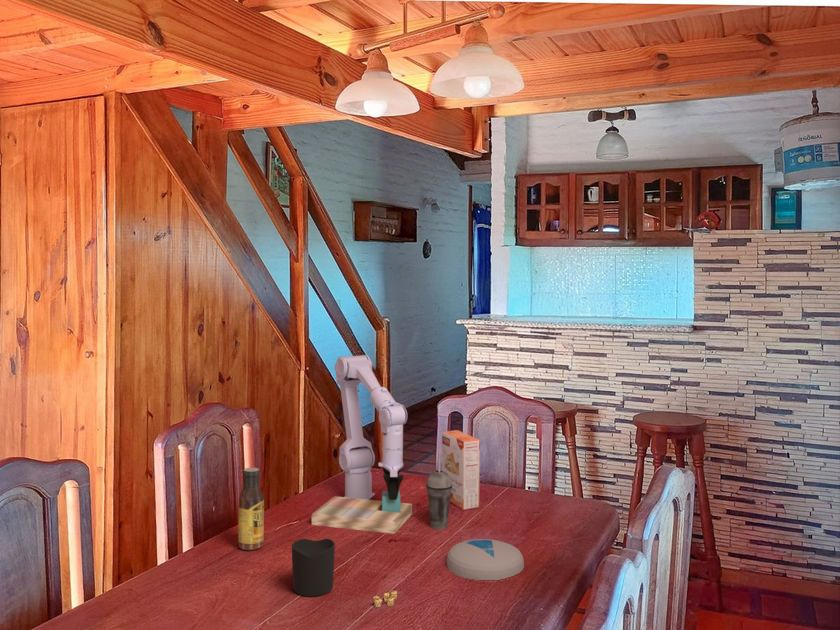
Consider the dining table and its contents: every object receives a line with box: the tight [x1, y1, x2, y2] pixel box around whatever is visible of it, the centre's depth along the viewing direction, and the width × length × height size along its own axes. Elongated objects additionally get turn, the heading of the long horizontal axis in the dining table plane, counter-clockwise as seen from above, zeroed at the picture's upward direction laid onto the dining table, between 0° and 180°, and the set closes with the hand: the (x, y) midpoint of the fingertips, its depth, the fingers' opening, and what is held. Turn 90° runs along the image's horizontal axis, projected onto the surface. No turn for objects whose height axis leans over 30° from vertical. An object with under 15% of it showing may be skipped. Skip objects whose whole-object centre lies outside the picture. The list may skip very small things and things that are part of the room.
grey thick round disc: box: [446, 538, 525, 581], centre depth 176 cm, size 18×18×5 cm
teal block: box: [381, 490, 401, 513], centre depth 209 cm, size 5×5×6 cm
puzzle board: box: [311, 495, 413, 535], centre depth 207 cm, size 24×16×3 cm
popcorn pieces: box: [372, 589, 398, 608], centre depth 156 cm, size 5×5×2 cm
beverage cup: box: [425, 455, 453, 531], centre depth 201 cm, size 7×7×20 cm
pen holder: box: [291, 538, 336, 598], centre depth 162 cm, size 9×9×10 cm
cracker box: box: [441, 429, 481, 511], centre depth 222 cm, size 14×6×21 cm, turn 25°
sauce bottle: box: [237, 467, 265, 551], centre depth 186 cm, size 7×6×20 cm
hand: (392, 495), depth 209 cm, fingers open, 7 cm apart
